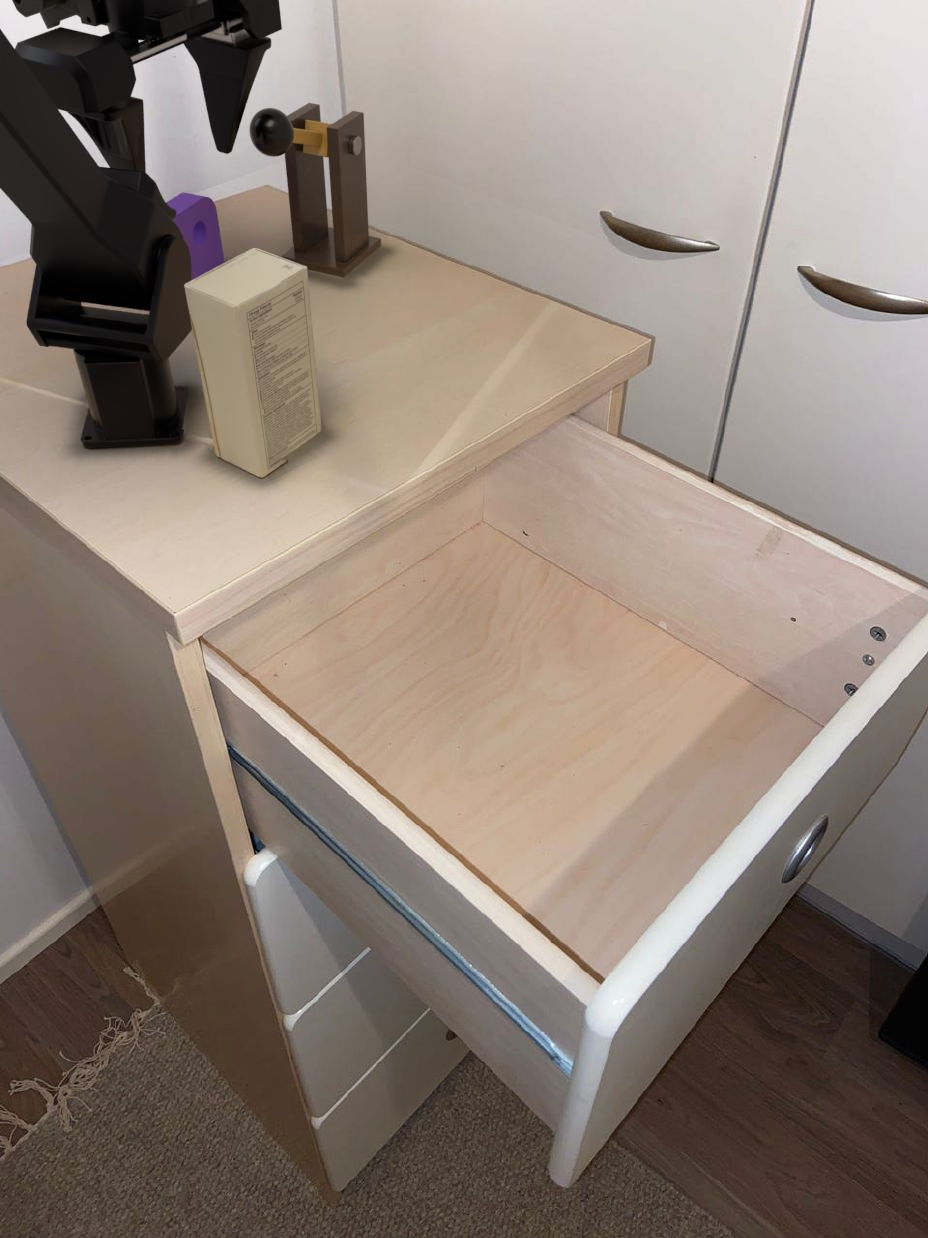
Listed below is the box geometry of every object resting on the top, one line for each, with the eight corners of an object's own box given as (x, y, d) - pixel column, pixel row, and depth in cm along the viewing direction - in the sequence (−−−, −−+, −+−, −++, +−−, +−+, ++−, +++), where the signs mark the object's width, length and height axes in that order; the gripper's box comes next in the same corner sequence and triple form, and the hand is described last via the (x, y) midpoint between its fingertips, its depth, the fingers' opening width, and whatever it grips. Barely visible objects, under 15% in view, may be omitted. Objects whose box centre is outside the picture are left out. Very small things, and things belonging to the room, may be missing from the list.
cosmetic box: (276, 415, 68) (255, 244, 59) (325, 437, 66) (311, 264, 58) (211, 458, 64) (179, 282, 56) (262, 482, 62) (236, 304, 54)
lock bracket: (344, 283, 82) (335, 135, 74) (282, 269, 84) (266, 122, 76) (381, 251, 87) (376, 108, 79) (322, 238, 89) (311, 96, 80)
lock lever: (277, 158, 70) (281, 109, 69) (239, 151, 71) (242, 102, 70) (348, 165, 80) (352, 121, 78) (313, 158, 81) (317, 115, 79)
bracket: (226, 272, 83) (213, 190, 78) (181, 307, 79) (165, 222, 74) (106, 246, 86) (87, 166, 81) (57, 279, 81) (33, 195, 77)
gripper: (134, -144, 64) (179, 108, 76) (-102, -88, 53) (-7, 198, 64) (271, -123, 61) (298, 138, 72) (50, -58, 50) (123, 239, 61)
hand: (182, 174), depth 68 cm, fingers open, 9 cm apart
